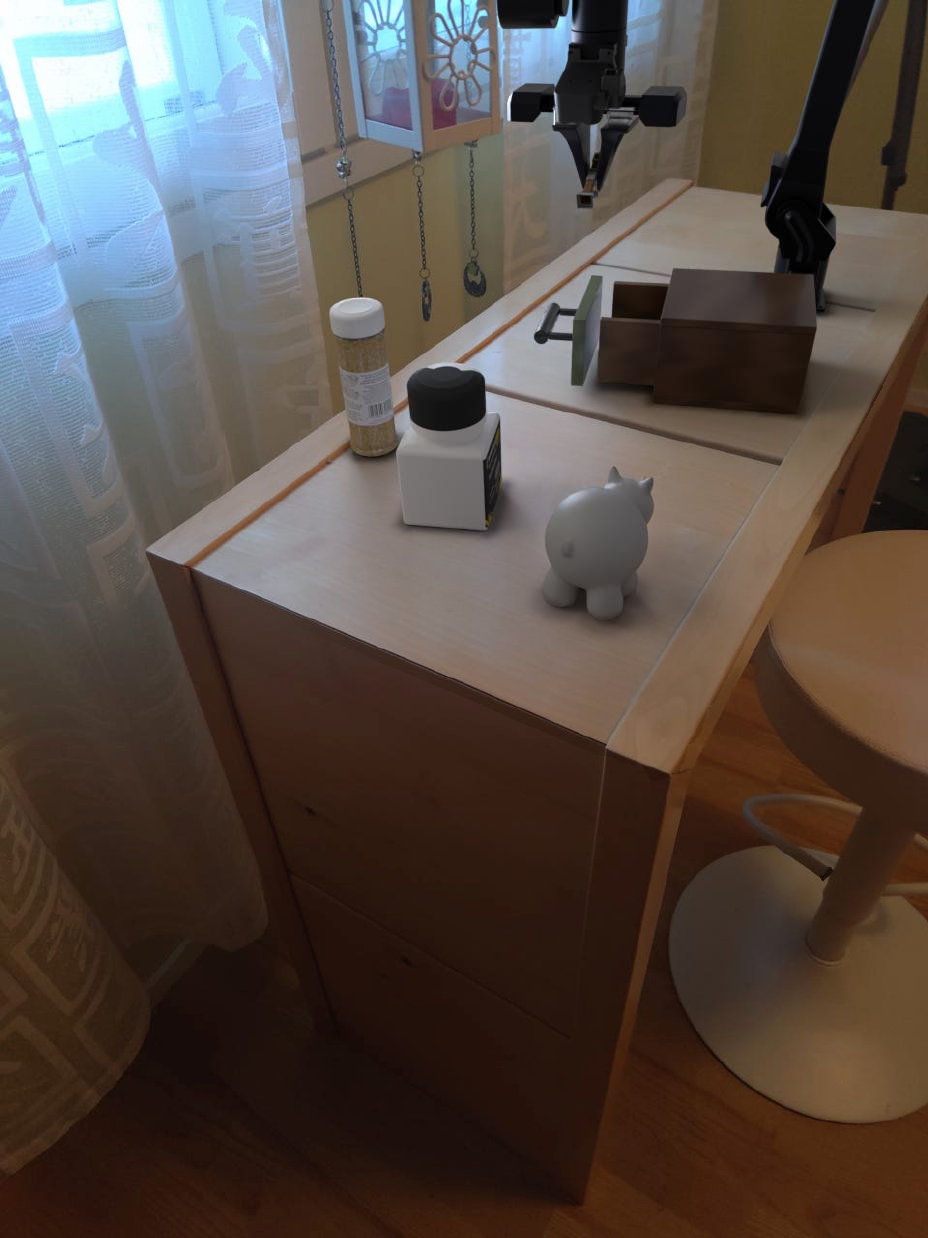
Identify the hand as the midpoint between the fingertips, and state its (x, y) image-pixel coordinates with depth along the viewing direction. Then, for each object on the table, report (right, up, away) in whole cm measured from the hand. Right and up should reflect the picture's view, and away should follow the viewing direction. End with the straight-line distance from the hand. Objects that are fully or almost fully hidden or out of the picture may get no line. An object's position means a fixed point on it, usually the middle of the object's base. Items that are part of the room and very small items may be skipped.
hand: (592, 189), depth 102 cm
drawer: (+1, -23, -10) cm, 25 cm away
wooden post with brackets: (0, -1, +1) cm, 1 cm away
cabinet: (+12, -25, -12) cm, 30 cm away
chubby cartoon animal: (-4, -46, -35) cm, 58 cm away
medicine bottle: (-16, -40, -27) cm, 50 cm away
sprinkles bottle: (-23, -33, -19) cm, 45 cm away
